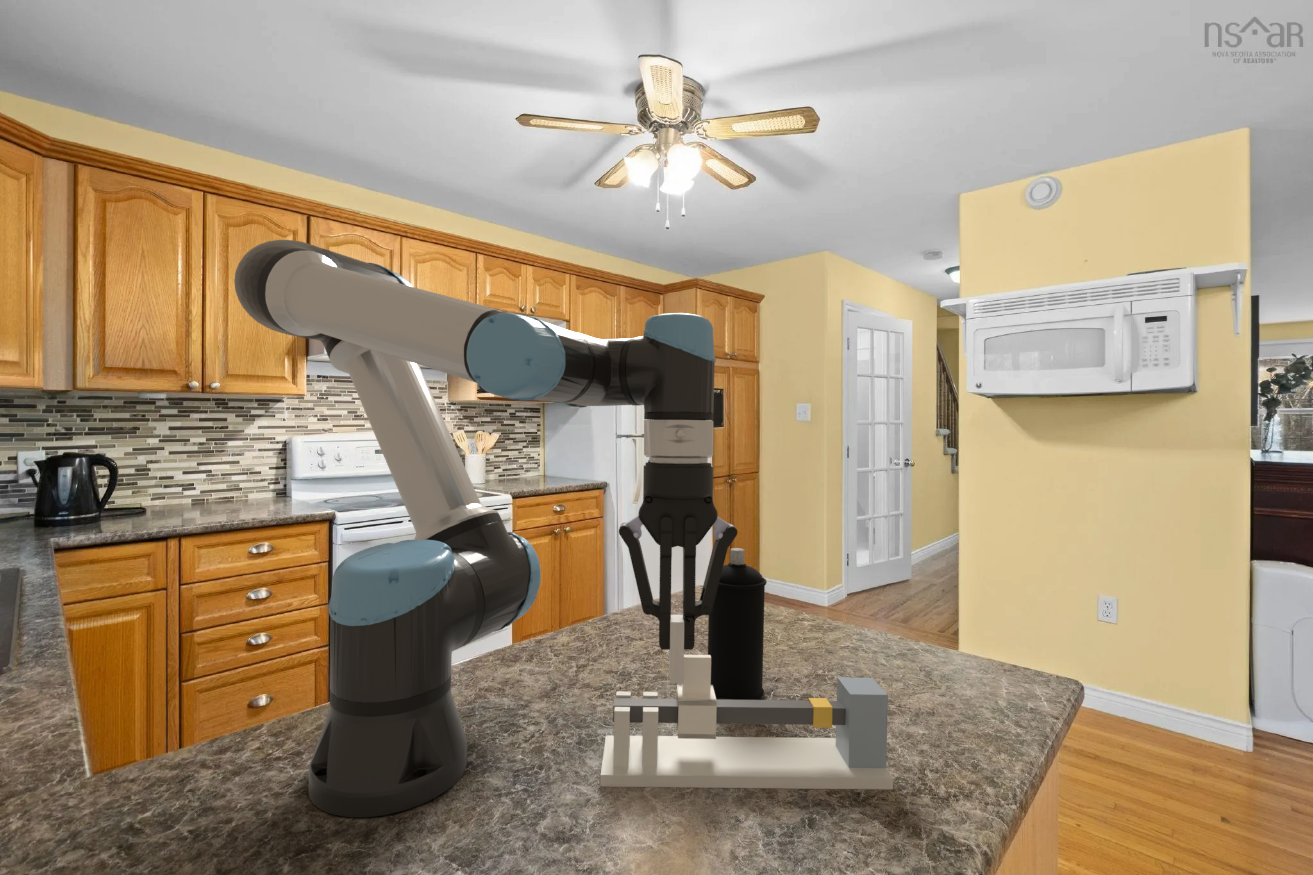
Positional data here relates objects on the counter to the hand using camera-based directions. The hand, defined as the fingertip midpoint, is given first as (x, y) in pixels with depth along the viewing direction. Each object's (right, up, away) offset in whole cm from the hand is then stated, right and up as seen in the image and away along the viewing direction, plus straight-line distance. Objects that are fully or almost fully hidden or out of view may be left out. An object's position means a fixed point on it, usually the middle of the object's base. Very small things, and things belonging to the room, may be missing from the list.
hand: (676, 678), depth 66 cm
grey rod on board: (+7, -10, 0) cm, 12 cm away
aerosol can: (+9, -10, +19) cm, 24 cm away
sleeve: (+2, -6, 0) cm, 6 cm away
